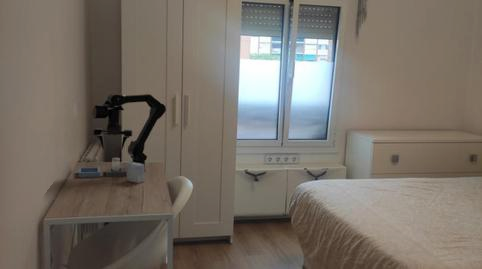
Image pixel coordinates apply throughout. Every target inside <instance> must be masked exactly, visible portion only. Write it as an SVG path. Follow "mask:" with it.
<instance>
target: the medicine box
mask: <svg viewBox="0 0 482 269" xmlns="http://www.w3.org/2000/svg"><path fill="white" fill-rule="evenodd" d="M126 171H127V176H126V181H127V182H132V183H137V184H139V183H144V182H145V171H144V164H140V163H134V162H132V161H131V162H128V163H126Z"/></svg>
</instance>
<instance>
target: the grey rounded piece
mask: <svg viewBox="0 0 482 269" xmlns="http://www.w3.org/2000/svg"><path fill="white" fill-rule="evenodd" d="M120 161H121V158H120V157H112V158H111V162H112V166H111V168H112V171H120V168H121V166H120V165H121V164H120V163H121V162H120Z"/></svg>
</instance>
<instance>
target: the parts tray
mask: <svg viewBox="0 0 482 269" xmlns="http://www.w3.org/2000/svg"><path fill="white" fill-rule="evenodd" d="M84 177H89V178H101V169H100V166H92V167H91V166H90V167H89V166H88V167H86V166H85V167H83V166H82V167H78V179H81V178H84Z"/></svg>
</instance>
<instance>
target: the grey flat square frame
mask: <svg viewBox="0 0 482 269" xmlns="http://www.w3.org/2000/svg"><path fill="white" fill-rule="evenodd" d="M105 171H106V172H105ZM105 171H104V172H105V177H121V176H124V177H127V167H120V171H112V167H105Z"/></svg>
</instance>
